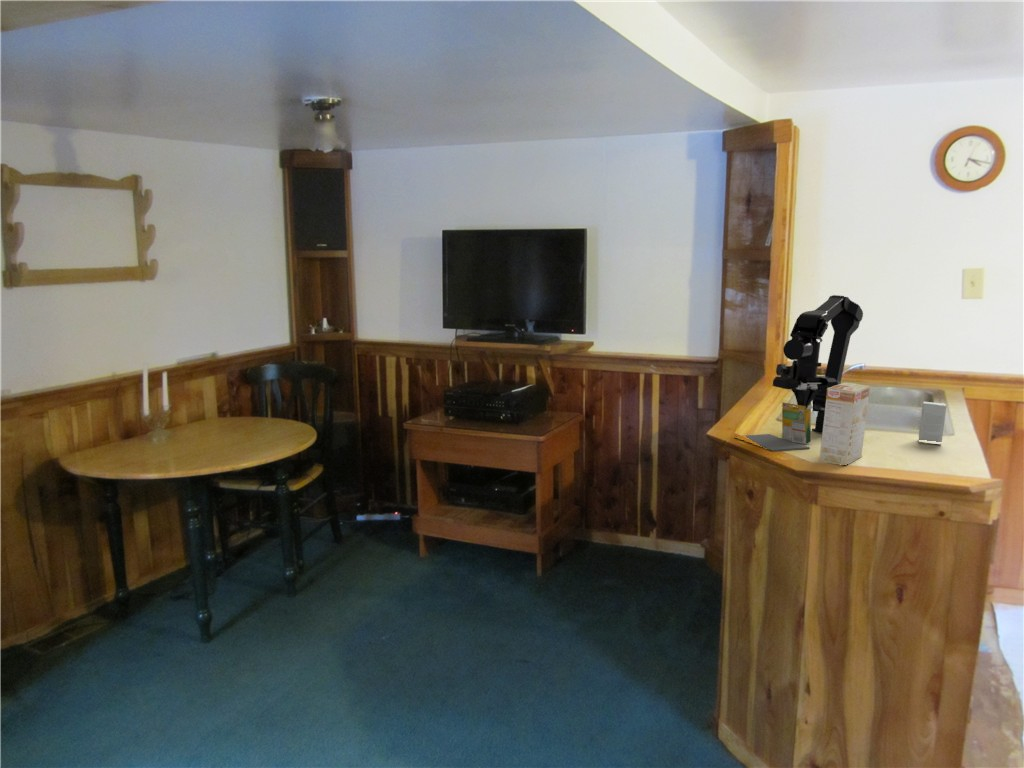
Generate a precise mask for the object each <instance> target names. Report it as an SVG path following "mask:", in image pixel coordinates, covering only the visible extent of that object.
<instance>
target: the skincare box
mask: <svg viewBox="0 0 1024 768" xmlns="http://www.w3.org/2000/svg"><path fill="white" fill-rule="evenodd" d="M946 411H947V405H946V403H942V402H929V401H922V406H921V415H920V422H919V431H918V437H919V440H927V441H936V442H942V441H943V434H944V427H945V419H946ZM942 443H943V442H942Z"/></svg>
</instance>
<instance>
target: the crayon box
mask: <svg viewBox="0 0 1024 768" xmlns="http://www.w3.org/2000/svg"><path fill="white" fill-rule="evenodd" d="M798 407H799V408H798ZM811 414H812V411H811V409H808V408H807V409H806V406H801V405H798V404H795V403H789V402H781V417H782V419H781V421H782V422H781V424H782V426H781V429H782V431H781V432H782V436H781V438H783V439H786V440H789V441H792V442H795V443H798V444H801V445H804V446H807V444H809V443H811V442H812V441H811V440H812V439H811V433H812V432H811V431H812V428H811V422H812V420H811V419H812V418H811V417H812V416H811Z"/></svg>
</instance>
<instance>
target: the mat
mask: <svg viewBox="0 0 1024 768" xmlns="http://www.w3.org/2000/svg"><path fill="white" fill-rule="evenodd" d="M744 436H746V437H747V438H749V439H750V440H752V441H753V442H756V443H757V444H759V445H760V446H762V447H764V448H767V449H769V450H772V451H771V452H785V451H799V450H801V451H802V450H810V447H809V446H807V445H804V444H801V443H796V442H792V441H789V440H786V439H783V438H782V437H779V436H776V435H773V434H770V433H769V434H768V433H767V434H750V435H749V434H747V435H744ZM764 448H763V449H764ZM767 449H766V450H767ZM769 450H768V451H769Z"/></svg>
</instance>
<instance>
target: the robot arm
mask: <svg viewBox="0 0 1024 768" xmlns="http://www.w3.org/2000/svg"><path fill="white" fill-rule="evenodd" d="M863 312H864V311H863V310H862V307H861V306H860V305H859V304H858V303H856V302H854V301H852V300H851V299H850V298H849V297H848V296H846V295H838V294H837V295H835V294H833V295H830V296H829V297H828V299H827V300H825V301H824V302H823V303H822V304H820V305H819V306H818V307H816V308H815V309H814V310H807V311H803V312H802V313H800V314H799V316H798V317H797V318H796V320H795V323H794V325H793V328H792V330H791V332H790V333H789V334H790V335H789V337H791V339H789V340H787V341H786V342H785V344H784V346H783V348H782V349H783V354H784V356H785V358H787V359H789V360H791V361H792V364H791V365H788V366H787V365H786V364H785V363H779V364H777V365H776V368H775V374H776V375H777V376H775V377H774V378H773V380H772V387H775V388H779V389H784V390H791V391H792V393H793V394H794V396H795V400H796V405H801V406H806V409H808V407H809V406H810V404H811V403H812V412H817V413H816V414H817V416H816V417H815V428H811V431H813V432H816V433H820V434H822V432H823V424H824V415H825V405H826V396H827V388H829V387H832V386H835V385H838V384H841V383H842V378H843V372H844V368H845V364H846V363H845V362H846V359H847V354H848V349H849V345H850V341H851V336H852V335H853V334H854V333H855V332H856V331H857V330H858V329H859V327H860V323H861V322H862V320H863V317H864V313H863ZM829 322H830V325H831V327H832V330H833V332H834V333H833V337H832V341H831V345H830V351H829V354H828V359H827V364H826V369H825V374H824V375H818V367H822V362H819V358H820V350H821V343H822V342H823V336H824V335H825V332H826V331H827V330H828V327H829ZM797 408H799V407H797Z"/></svg>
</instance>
